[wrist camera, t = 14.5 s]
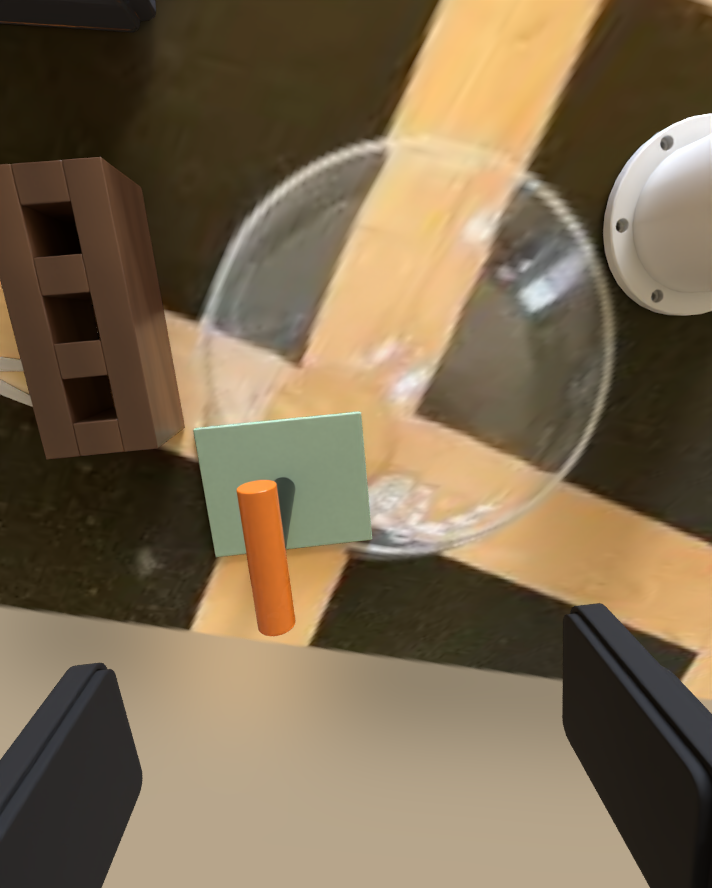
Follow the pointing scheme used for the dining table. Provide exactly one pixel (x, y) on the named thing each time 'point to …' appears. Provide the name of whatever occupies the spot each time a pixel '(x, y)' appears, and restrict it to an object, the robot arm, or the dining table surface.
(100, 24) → the power drill
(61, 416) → the rack
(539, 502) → the dining table surface
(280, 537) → the t handle
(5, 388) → the scissors
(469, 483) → the dining table surface
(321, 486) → the mat
